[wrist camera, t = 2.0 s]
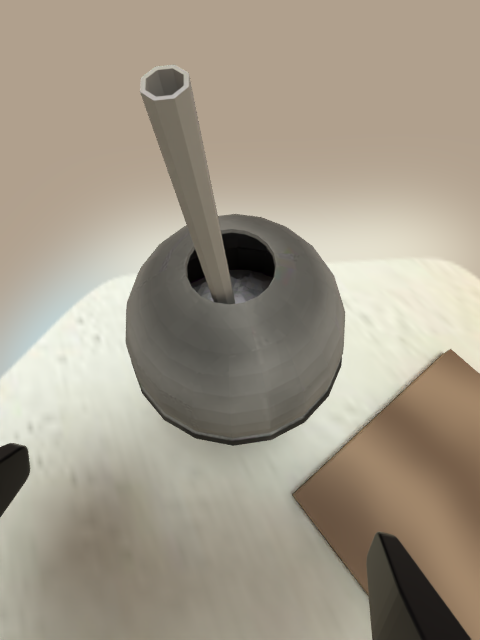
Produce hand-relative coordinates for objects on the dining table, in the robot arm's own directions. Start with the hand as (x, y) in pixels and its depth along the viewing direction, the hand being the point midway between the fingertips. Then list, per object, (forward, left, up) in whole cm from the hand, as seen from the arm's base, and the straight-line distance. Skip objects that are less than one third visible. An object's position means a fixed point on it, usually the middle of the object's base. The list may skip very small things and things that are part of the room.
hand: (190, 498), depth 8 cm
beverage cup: (+4, +3, -13) cm, 14 cm away
